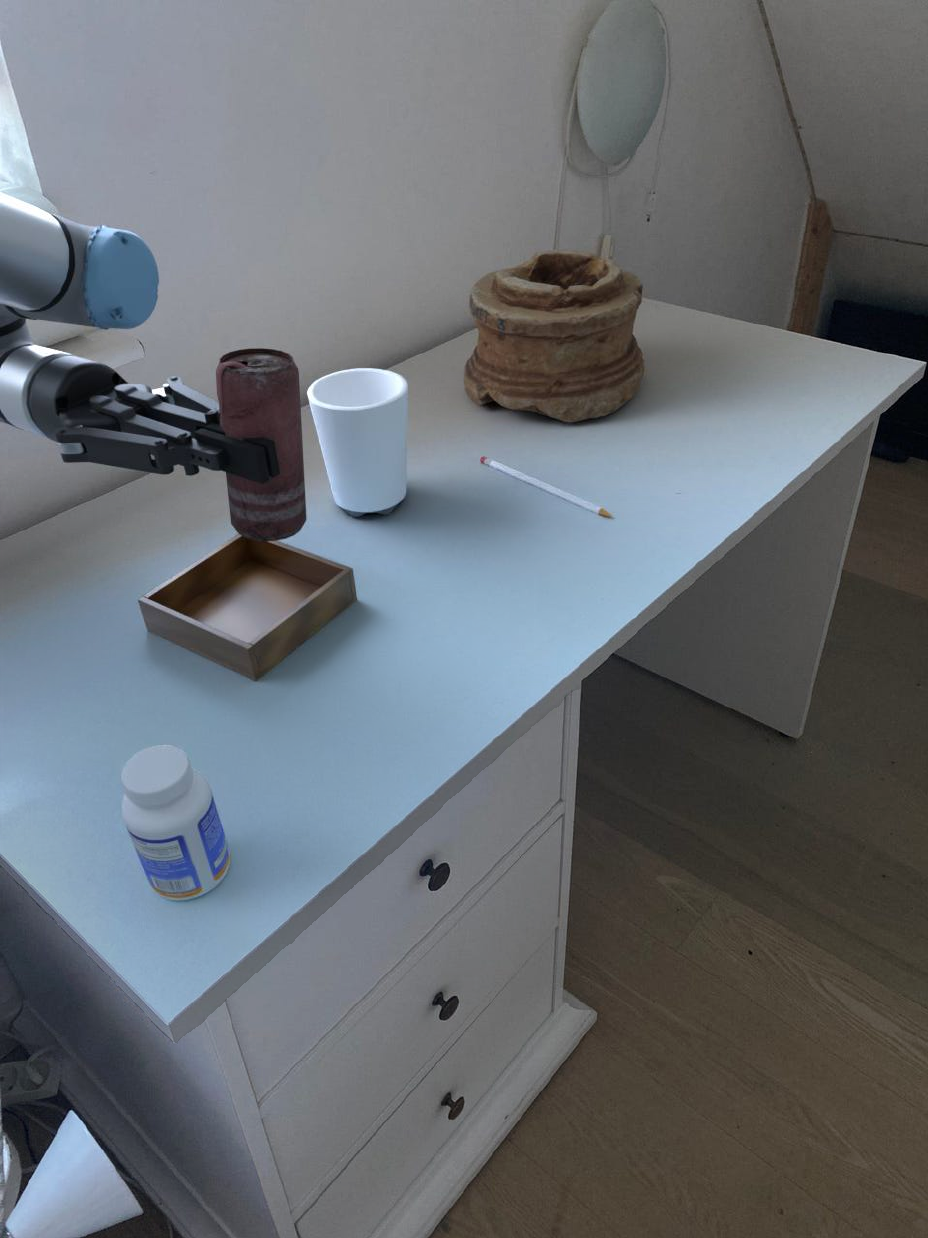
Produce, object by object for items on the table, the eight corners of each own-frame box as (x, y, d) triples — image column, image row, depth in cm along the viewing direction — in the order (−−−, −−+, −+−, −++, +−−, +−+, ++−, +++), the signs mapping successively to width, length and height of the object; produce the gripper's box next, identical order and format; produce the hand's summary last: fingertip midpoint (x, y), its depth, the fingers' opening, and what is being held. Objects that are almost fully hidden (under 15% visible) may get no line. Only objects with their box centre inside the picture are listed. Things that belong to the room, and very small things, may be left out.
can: (213, 524, 77) (194, 356, 70) (276, 501, 81) (265, 340, 74) (258, 552, 74) (243, 378, 66) (321, 526, 78) (314, 360, 70)
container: (426, 397, 120) (418, 277, 110) (539, 339, 133) (539, 228, 124) (572, 446, 107) (576, 315, 98) (679, 376, 121) (691, 256, 112)
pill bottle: (203, 824, 65) (171, 721, 59) (248, 868, 62) (218, 764, 56) (133, 870, 62) (91, 768, 57) (175, 919, 59) (136, 816, 53)
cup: (325, 482, 103) (308, 371, 96) (415, 474, 104) (405, 363, 96) (322, 530, 95) (304, 413, 88) (419, 521, 96) (410, 404, 88)
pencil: (484, 461, 106) (484, 455, 105) (616, 519, 95) (617, 513, 94) (479, 463, 105) (479, 457, 105) (611, 522, 94) (612, 516, 94)
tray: (255, 681, 77) (248, 649, 75) (146, 630, 83) (137, 599, 81) (357, 599, 86) (353, 568, 84) (252, 558, 92) (245, 528, 90)
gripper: (138, 410, 88) (333, 469, 77) (13, 471, 79) (212, 548, 68) (117, 330, 83) (321, 382, 72) (-19, 386, 74) (190, 454, 63)
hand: (268, 462), depth 70 cm, fingers closed on can
